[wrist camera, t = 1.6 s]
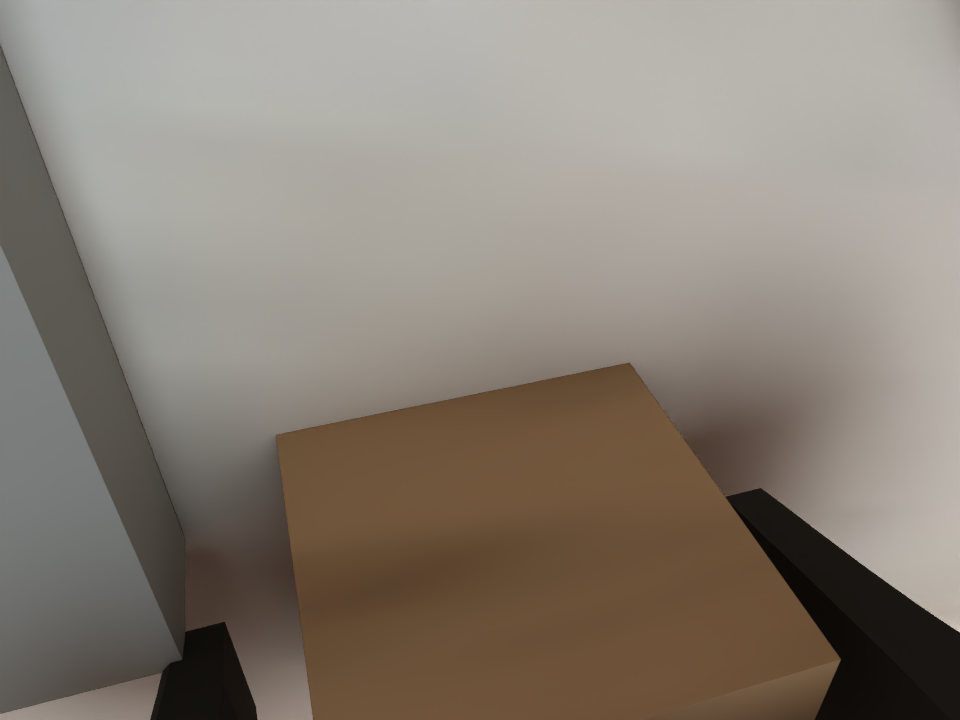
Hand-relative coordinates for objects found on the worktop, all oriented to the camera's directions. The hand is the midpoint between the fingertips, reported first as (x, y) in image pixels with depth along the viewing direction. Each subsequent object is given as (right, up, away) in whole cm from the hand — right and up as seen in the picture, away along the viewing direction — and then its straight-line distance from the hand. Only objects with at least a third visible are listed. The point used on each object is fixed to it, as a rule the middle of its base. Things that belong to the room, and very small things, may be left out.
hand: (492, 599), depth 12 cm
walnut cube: (0, +1, +1) cm, 2 cm away
